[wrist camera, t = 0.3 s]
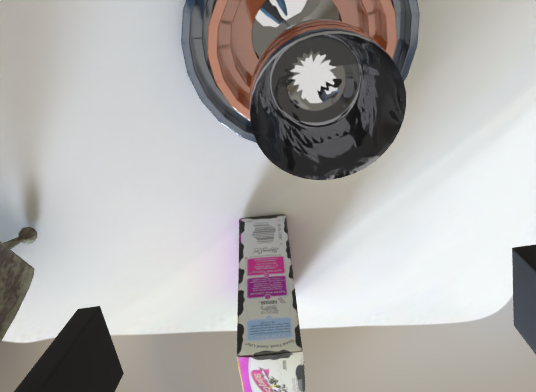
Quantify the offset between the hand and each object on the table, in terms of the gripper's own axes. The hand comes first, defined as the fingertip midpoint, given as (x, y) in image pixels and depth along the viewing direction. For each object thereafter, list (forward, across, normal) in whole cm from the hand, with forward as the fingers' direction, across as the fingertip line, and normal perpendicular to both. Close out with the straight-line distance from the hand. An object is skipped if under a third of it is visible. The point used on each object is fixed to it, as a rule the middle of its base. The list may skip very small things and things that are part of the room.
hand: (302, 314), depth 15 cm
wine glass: (+26, +1, +8) cm, 27 cm away
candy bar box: (+31, -6, -13) cm, 34 cm away
